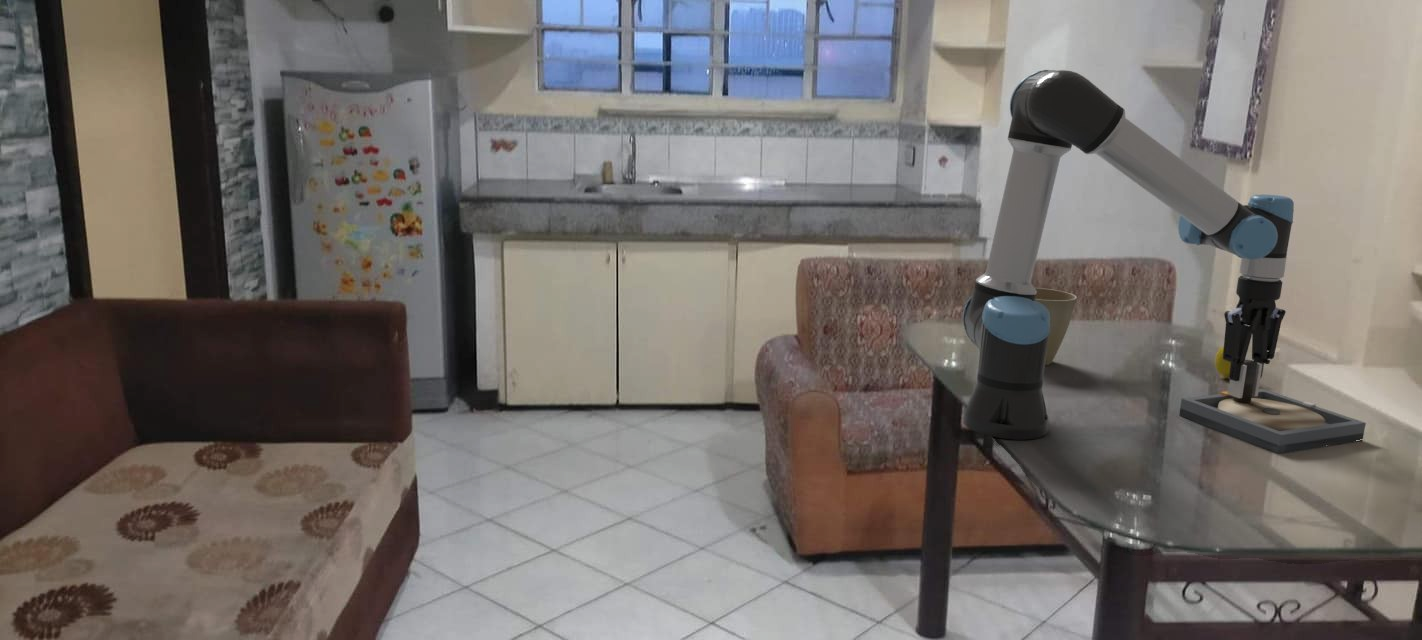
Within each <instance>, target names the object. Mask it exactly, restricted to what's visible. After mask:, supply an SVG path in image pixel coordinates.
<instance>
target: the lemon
mask: <svg viewBox="0 0 1422 640" xmlns="http://www.w3.org/2000/svg"><path fill="white" fill-rule="evenodd" d="M1223 350H1224V345H1223V346H1221V347H1220V348H1218V351H1217V353H1216V354H1215V357H1214V367H1215V369H1216V371H1217V372H1218V373H1219V374H1220V375H1221V376H1223V377H1224V379H1229V374H1230V367H1231V363H1230V362H1228V361H1226V360H1224V359H1223ZM1238 358H1239V357H1238Z"/></svg>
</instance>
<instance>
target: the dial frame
mask: <svg viewBox="0 0 1422 640" xmlns="http://www.w3.org/2000/svg"><path fill="white" fill-rule="evenodd" d="M1230 398H1233V396H1231V395H1228V390H1226V391H1220V393H1217V394H1216V393H1215V394H1207V395H1200V396H1191V397H1183V398H1181V402H1180V408H1179V414H1178V415H1179V417H1181V418H1184V419H1187V420H1190V421H1193V422H1195V423H1197V424H1199V425H1200V424H1201V425H1203V426H1205V427H1208V428H1210V429H1213V430H1215V431H1218V432H1221V433H1223V434H1226V435H1229V436H1231V437H1234V438H1237V439H1239V440H1241V441H1244V442H1246V443H1249V444H1252V445H1255V446H1257V447H1259V448H1262V449H1265V450H1267V451H1270V452H1273V453H1275V454H1277V455H1279V454H1286V453H1290V452H1291V453H1292V452H1293V453H1294V452H1298V451H1304V449H1306V450H1312V449H1318V448H1324V447H1323V446H1325V447H1327V446H1326V445H1332V446H1337V445H1344V444H1345V445H1346V444H1350V443H1351V444H1352V443H1355V442H1354V441H1356V440H1360V439H1363V440H1364V436H1365V435H1364V434H1365V429H1366V424H1367V423H1366V422H1365V421H1362V420H1358V419H1355V418H1352V417H1349V416H1346V415H1343V414H1340V413H1337V412H1334V411H1332V410H1328V409H1325V408H1323V407H1319V406H1316V405H1317V404H1316V403H1313V402H1310V401H1304V402H1303V401H1301V400H1299V399H1298V400H1297V399H1294V398H1292V397H1290V396H1289V397H1288V396H1285V395H1283V394H1279V393H1277V392H1273V391H1270V390H1268V389H1264V388H1259V391H1258V396H1252V398H1257V399H1266V400H1273V401H1279V402H1284V403H1288V404H1292V405H1296V406H1300V407H1303V408H1306V409H1309V410H1311V411H1313V412H1316V413H1317V414H1319V415H1321V416H1322V417H1323V418H1324V419H1325V425H1321V426H1314V427H1307V428H1300V429H1293V430H1286V431H1277V430H1274V429H1272V428H1269V427H1266V426H1264V425H1261V424H1258V423H1255V422H1253V421H1250V420H1247V419H1244V418H1242V417H1239V416H1236V415H1233V414H1231V413H1228V412H1225V411H1222V410H1220V409H1218V404H1219V402H1220V401H1222V400H1225V399H1230Z"/></svg>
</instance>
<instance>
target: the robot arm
mask: <svg viewBox="0 0 1422 640" xmlns="http://www.w3.org/2000/svg"><path fill="white" fill-rule="evenodd" d="M1009 111H1010V117H1011V122H1010V126H1009V130H1008V131H1009V132H1008V136H1007V141H1008V142H1009V144H1010V145H1011V147H1012V149H1013V150H1012V155H1011V159H1010V164H1009V167H1008V168H1009V169H1008V173H1007V178H1006V182H1005V185H1004V191H1003V195H1002V199H1001V204H1000V208H999V212H998V215H997V221H996V226H995V230H994V234H993V239H992V244H991V247H990V253H989V257H988V260H987V261H988V262H987V264H986V265H987V266H986V269H985V272H984V273H983V274H981V275H980V276H978V277H977V278H975V282H974V286H973V291H972V295H971V296H970V297H969V298H968V300H967V301H966V303H965V305H964V307H963V311H962V322H963V327H964V328H963V329H964V330H965V334H966V336H967V337H968V338H969V339H970V341H971V342H972V344H973V345H975V346H976V348H978V350H979V355H978V366H977V377H976V383H975V386H974V389H973V390H972V393H971V395H970V398H969V401H968V402H967V403H968V404H967V405H966V406H965V408H964V410H963V418H962V419H963V420H962V421H963V424H964V426H966V428H968V429H969V430H972V431H974V432H976V433H978V434H981V435H985V436H988V437H993V438H996V439H997V438H998V439H1004V440H1021V441H1022V440H1023V441H1024V440H1033V439H1039V438H1042V437H1044V436H1046V435H1047V434H1048V431H1049V430H1048V429H1049V421H1050V420H1049V416H1048V414H1047V407H1046V402H1045V398H1044V392H1043V386H1044V385H1043V384H1044V378H1045V376H1044V375H1045V369H1046V365H1045V360H1046V352H1047V343H1048V334H1049V332H1050V314H1049V311H1048V309H1047V308H1046V307H1045V306H1044V305H1042V304H1041V303H1039V302H1037V301H1035V297H1036V293H1037V291H1036V289H1035V288H1036V287H1035V286H1034V285H1033V284H1032V279H1033V273H1034V270H1035V266H1036V262H1037V257H1038V253H1039V249H1040V244H1041V241H1042V236H1043V232H1044V228H1045V223H1046V219H1047V215H1048V210H1049V208H1050V207H1049V206H1050V203H1051V198H1052V194H1053V190H1054V187H1055V186H1054V185H1055V182H1056V178H1057V173H1058V168H1059V164H1060V159H1061V158H1062V157H1063V156H1065V155H1066V154H1067V153H1068V152H1070V151H1071V150H1072V147H1073V146H1074V147H1076V148H1077V149H1078V150H1080V151H1081V152H1083V154H1086V155H1093V154H1095V155H1097V156H1099V157H1100V158H1101V159H1102V160H1104V161H1105V162H1107V163H1108V164H1109V165H1111V166H1112V167H1114V169H1116V170H1118V171H1119V172H1121V174H1123V175H1124V176H1126V177H1127V178H1129V179H1130V180H1131V181H1132V182H1134V183H1136V184H1137V185H1138V186H1139V187H1141V188H1142V189H1144V190H1145V191H1146V192H1148V193H1149V194H1150V195H1152V196H1153V197H1155V198H1156V199H1157V200H1159V201H1160V202H1161V203H1163V204H1164V205H1166V206H1167V207H1168V208H1169V209H1171V210H1172V211H1174V212H1175V213H1177V214H1178V215H1179V219H1178V235H1179V238H1180V240H1181V241H1182V242H1183V243H1185V244H1191V245H1196V246H1200V245H1208V246H1211V247H1214V248H1216V249H1218V250H1221V251H1224V252H1228V253H1230V254H1231V255H1235V256H1237V257H1238V258H1241V261H1240V268H1239V273H1240V274H1241V275H1240V276H1238V277H1237V285H1236V292H1235V293H1236V295H1237V296H1238V299H1239V300H1238V303H1237V304H1236V307H1235V309H1233V310H1232V311H1229V310H1226V311H1225V312H1224V314H1223V315H1224V319H1225V331H1224V339H1223V340H1224V341H1223V346H1224V350H1223V359H1224V360H1226V361H1228V362H1230V363H1231V367H1230V374H1229V378H1228V379H1229V385H1228V390H1227V392H1228V395H1231V396H1234V397H1237V398H1242V396H1243V389H1244V382H1245V376H1246V369H1247V366H1246V365H1243V364H1244V361H1245V360H1246V359H1247V354H1248V350H1249V347H1250V344H1252V345H1251V359H1252V361H1255V362H1257V367H1256V374H1255V380H1254V386H1253V392H1252V396H1258V391H1259V389H1260V383H1261V378H1262V377H1263V371H1264V365H1265V364H1266V365H1269V364H1270V362H1271V360H1273V359H1274V357H1275V353H1276V348H1277V343H1278V339H1279V335H1280V330H1281V325H1282V321H1283V319H1284V317H1285V315H1286V310H1285V309H1283V308H1282V309H1281V308H1279V307H1277V305H1276V301H1278V300H1279V299H1280V298H1281V294H1282V289H1283V281H1282V278H1284V277H1285V270H1286V265H1287V263H1286V262H1287V255H1288V249H1289V242H1290V237H1291V236H1290V235H1291V230H1292V226H1293V223H1294V211H1295V210H1294V208H1295V206H1294V205H1295V203H1294V201H1293V199H1292V198H1290V197H1288V196H1286V195H1285V196H1284V195H1275V194H1253V195H1251V196H1250V198H1249V201H1248V203H1247V204H1246V205H1245V204H1242V203H1240V202H1238V201H1237V199H1235V197H1233V196H1231V195H1230V194H1228V193H1227V192H1226V191H1224V190H1223V189H1222V188H1220V187H1219V186H1218V185H1216V183H1213V182H1212V181H1211V180H1210V179H1209V178H1207V177H1206V176H1204V175H1203V174H1202V173H1200V172H1199V171H1197V169H1195V168H1194V167H1192V166H1191V165H1190V164H1188V163H1187V162H1185V160H1183V159H1182V158H1180V157H1179V156H1177V155H1176V154H1175V153H1173V152H1172V151H1171V150H1169V149H1168V148H1167V147H1166V146H1164V145H1163V144H1161V143H1160V142H1159V141H1157V140H1155V139H1154V138H1153V137H1152V136H1151V135H1149V134H1148V133H1146V132H1145V131H1144V130H1142V128H1139V127H1138V126H1137V125H1135V123H1133V122H1132V121H1130V119H1128V118H1126V110H1125V108H1124V107H1122V106H1121V105H1119V104H1118V103H1117V102H1115V101H1114V100H1113V99H1112V98H1111V97H1110V96H1108V95H1107V94H1106V93H1105V92H1104V91H1103V90H1102V89H1100V88H1099V87H1098V86H1096V85H1095V84H1094V83H1093V82H1091V80H1089V79H1088V78H1086V77H1085V76H1084V75H1081V74H1080V73H1078V72H1075V71H1072V70H1063V69H1062V70H1055V69H1052V70H1050V69H1044V70H1039V71H1036V72H1034V73H1031V74H1030V75H1028V76H1026V77H1025V78H1023V79H1022V80H1020V82H1018V84H1017V85H1016V87H1015V88H1014V90H1013V92H1012V94H1011V97H1010V101H1009ZM1251 339H1252V341H1251ZM1238 357H1239V358H1238Z"/></svg>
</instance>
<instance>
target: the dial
mask: <svg viewBox="0 0 1422 640" xmlns="http://www.w3.org/2000/svg"><path fill="white" fill-rule="evenodd" d="M1243 365H1246V366H1247V369H1246V376H1245V382H1244V389H1243V396H1242V398H1237V397H1234V396H1233V398H1230V399H1225V400H1222V401H1220V402H1219V404H1218V409H1220V410H1222V411H1225V412H1228V413H1231V414H1233V415H1236V416H1239V417H1242V418H1244V419H1247V420H1250V421H1253V422H1255V423H1258V424H1261V425H1264V426H1266V427H1269V428H1272V429H1274V430H1277V431H1286V430H1293V429H1300V428H1307V427H1314V426H1321V425H1325V419H1324V418H1323V417H1322V416H1321V415H1319V414H1317V413H1316V412H1313V411H1311V410H1309V409H1306V408H1303V407H1300V406H1296V405H1292V404H1288V403H1284V402H1279V401H1273V400H1266V399H1257V398H1252V392H1253V386H1254V380H1255V374H1256V367H1257V362H1255V361H1254V360H1253V359H1252V360H1251V359H1245V361H1244V364H1243Z"/></svg>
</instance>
